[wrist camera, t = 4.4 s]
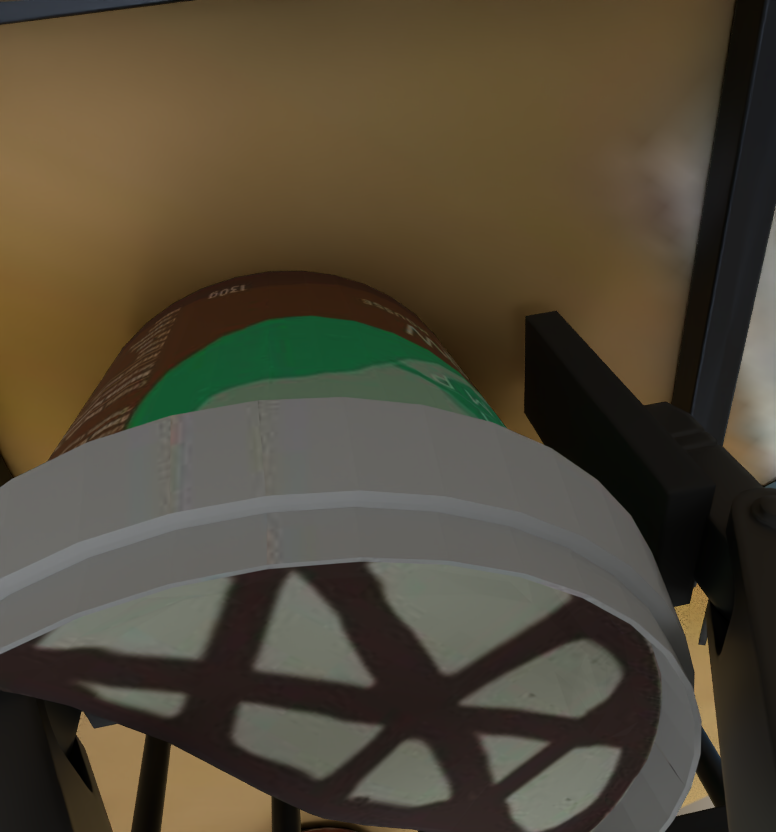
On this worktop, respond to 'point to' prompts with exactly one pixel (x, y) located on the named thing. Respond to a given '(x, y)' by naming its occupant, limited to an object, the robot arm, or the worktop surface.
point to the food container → (346, 577)
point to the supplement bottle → (328, 830)
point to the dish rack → (704, 325)
